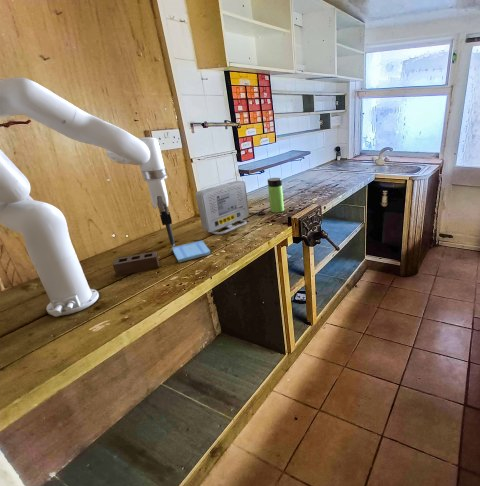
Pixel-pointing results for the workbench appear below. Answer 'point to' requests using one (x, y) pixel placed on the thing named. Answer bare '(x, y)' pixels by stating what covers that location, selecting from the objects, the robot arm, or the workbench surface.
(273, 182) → the tumbler
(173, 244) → the stylus
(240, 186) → the network device
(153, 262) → the pen stand
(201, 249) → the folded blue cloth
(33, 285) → the workbench surface
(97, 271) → the workbench surface
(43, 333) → the workbench surface
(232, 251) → the workbench surface
